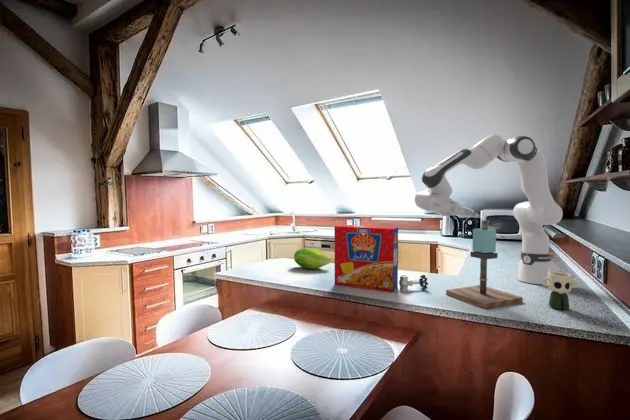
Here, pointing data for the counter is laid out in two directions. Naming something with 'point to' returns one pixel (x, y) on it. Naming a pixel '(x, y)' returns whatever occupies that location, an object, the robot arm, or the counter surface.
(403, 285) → the valve
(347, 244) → the pasta box
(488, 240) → the sleeve
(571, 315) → the counter surface
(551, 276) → the character mug
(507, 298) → the pipe stand
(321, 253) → the green papaya
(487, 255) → the rubber ring
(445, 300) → the counter surface
